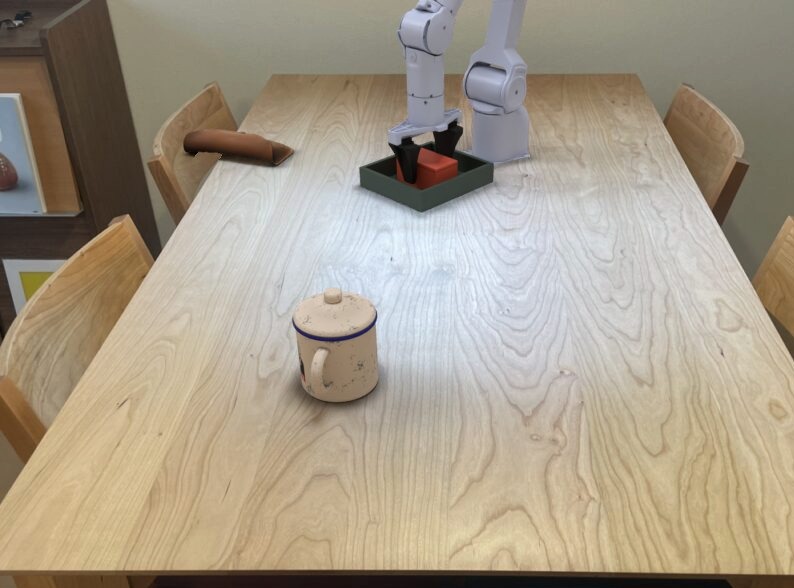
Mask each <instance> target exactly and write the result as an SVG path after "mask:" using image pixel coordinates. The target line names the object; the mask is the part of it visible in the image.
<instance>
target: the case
mask: <svg viewBox="0 0 794 588" xmlns="http://www.w3.org/2000/svg"><path fill="white" fill-rule="evenodd" d="M457 175H458V161H457V160H454V159H451V158H449V157H446V156H443V155H441V154H438V153H435V152H432V151H430V150H427V149H424V148H422V147H421V150H420V152H419V156H418V161H417V179H416V183H415V184H410V183H407V182H405V181H404V179H403V175H402V171H401V168H400V165H399V163H398V160H397V180H398V181H401V182H403V183H405V184H408V185H410V186H413V187H415V188H418V189H420V190H424V189H427V188H429V187H431V186H434V185H436V184H439V183H441V182H444V181H446V180H448V179H451V178H453V177H456V176H457Z"/></svg>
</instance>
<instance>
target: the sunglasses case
mask: <svg viewBox="0 0 794 588" xmlns="http://www.w3.org/2000/svg"><path fill="white" fill-rule="evenodd" d="M182 148H183V151H184V152H185V153H191V152H193V153H203V154H204V153H208V154H215V153H216V154H220V155H225V156H232V157H240V158H245V159H251V160H258V161H260V160H261V161H266V162H269V163H270V162H272V163H273V164H275V165H276V166H279V165H280V164H281V163H283V162H285V161H286V160H287V159H288V158H289V157H290V156H291V155H292V154H293V153H294V151H295V150H294V148H292V147H290V146H288V145H287V144H284V143H281V142H277V141H274V140H271V139H266V138H265V137H263V136H261V135H260V134H257V133H247V132H246V131H236V130H228V129H219V128H208V129H207V128H206V129H198V130H193V131H190V132H188V133H186V134H185V136H184V138H183V142H182Z"/></svg>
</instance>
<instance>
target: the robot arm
mask: <svg viewBox="0 0 794 588" xmlns="http://www.w3.org/2000/svg"><path fill="white" fill-rule="evenodd" d="M464 1H465V0H418V1H417V3H416V5H415V6H414V8H411V9H410V10H408V11H407V12H405V13H404V14H403V15H402V17H401V18H400V21H399V25H398V29H397V30H396V38H397V41H398V43H399V45H400V46H401V48H402V57H403V58H404V60H405V66H406V67H405V68H406V100H407V101H406V102H407V103H406V104H407V106H406V107H407V118H406V119H405V120H403V121H402V122H400V123H399V124H397V125H396V126H394V127H393V128H391V129H388V130H387V140H388V141H387V145H388V147H389V148H390V149H391V151H392V153H393V155H394V154H395V156H396V158H397V160H398V163H399V165H400V168H401V171H402V175H403V179H404V181H405V182H407V183H410V184H415V183H416V179H417V161H418V156H419V152H420V150H421V146H420V145H421V144H417V143H415V140H413V138H417V137H419V136H422V135H424V134H427V133H431V132H432V135H433V136H432V137H433V140H434V142H435V146H436V153H438V154H441V155H443V156H446V157H449V158H451V159H452V156H453V153H454V150H455V149H456V147H457V145H458V143H459V141H460V140H461V138H462V136H463V134H464V127H463V126H461V125H459V124H461V123H463V110H461V109H458V108H455V107H453V108H449V109H445V52H446V51H447V50H448V49H449V46H450V45H451V44H452V41H453V37H454V27H455V25H456V21H457V20H456V18H455V17H456V16H457V13H458V11H459V10H460V8H461V6H462V5H463V3H464ZM526 6H527V0H492V3H491V9H490V14H489V20H488V24H487V31H486V36H485V42H484V45H483V46H481V47H480V48H479V49H477V50H476V51H475V52H473V53H472V54H471V56H470V60H469V64H468V66H467V69H466V71H465V73H464V74H463V78H462V93H463V95H464V97H465V98H466V99H467V100H468V101H469V102H468V105H469V107H472V121H471V123H472V125H471V126H472V129H471V130H472V131H471V148H470V149H466V150H463V151H462V152H464V153H467V154H470V155H473V156H475V157H478V158H481V159H484V160H486V161H489V162H492V163H494V166H497V165H501V164H505V163H509V162H514V161H518V160H523V159H530V158H531V154H529V140H530V139H529V138H530V117H529V113H528V111H527V109H526V107H525V106H524V105H523V102H524V101H525V98H526V96H527V90H528V89H527V88H528V87H527V85H528V84H527V73H528V68H529V67H528V65H527V64H526V62H525V60H524V59H523V58H522V57H521V55H520V54H519V52H518V45H519V41H520V35H521V31H522V26H523V20H524V17H525V16H524V15H525V10H526ZM492 65H493V66H492ZM495 66H496V67H495ZM497 66H498V67H497ZM499 67H501V68H499Z"/></svg>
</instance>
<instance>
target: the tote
mask: <svg viewBox="0 0 794 588" xmlns="http://www.w3.org/2000/svg"><path fill="white" fill-rule="evenodd" d="M419 145H420V146H421V147H422V148H424V149H427V150H430V151H432V152H435V153H436V146H435V141H433V140H429V141H426V142H424V143H422V144H419ZM452 159H454V160H457V161H458V175H457V176H456V177H453V178H451V179H448V180H446V181H444V182H441V183H439V184H436V185H434V186H431V187H429V188H427V189H424V190H420V189H418V188H415V187H413V186H410V185H408V184H405V183H403V182H401V181H398V180H397V158H396V156H395V154H394V153H393V154H392V155H389V156H386V157H384V158H380V159H377V160H375V161H373V162H370V163H367V164H364V165H361V166H359V167H358V171H359V172H358V173H359V185H360V187H362V188H364V189H366V190H368V191H371V192H372V193H375V194H377V195H379V196H383V197H384V198H386V199H389V200H391V201H393V202H395V203H399V204H401V205H404V206H405V207H408V208H410V209H412V210H415V211H417V212H420V213H425V212H427V211H429V210H431V209H434V208H437V207H439V206H440V205H443V204H446V203H448V202H450V201H453V200H455V199H458V198H460V197H462V196H464V195H466V194H468V193H471V192H474V191H476V190H478V189H480V188H482V187H485V186H487V185H490V184H492V183H494V173H495V171H494V170H495V165H494V163H492V162H489V161H486V160H484V159H481V158H478V157H475V156H473V155H470V154H467V153H464V152H463V151H462V150H459V149H456V148H455V150H454V153H453V156H452Z"/></svg>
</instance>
